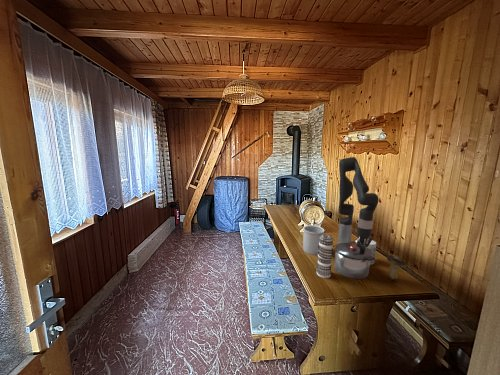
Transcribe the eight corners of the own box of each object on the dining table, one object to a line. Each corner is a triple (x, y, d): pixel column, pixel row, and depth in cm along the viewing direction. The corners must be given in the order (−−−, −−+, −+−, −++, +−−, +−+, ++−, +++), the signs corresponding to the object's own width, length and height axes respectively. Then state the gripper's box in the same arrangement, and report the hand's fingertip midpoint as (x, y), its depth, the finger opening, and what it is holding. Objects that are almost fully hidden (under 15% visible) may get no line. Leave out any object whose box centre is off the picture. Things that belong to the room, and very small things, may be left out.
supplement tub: (375, 266, 143) (378, 245, 140) (359, 263, 146) (362, 243, 143) (372, 259, 152) (374, 239, 149) (357, 257, 155) (359, 237, 152)
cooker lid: (351, 242, 150) (351, 237, 150) (383, 256, 129) (384, 251, 128) (327, 247, 142) (328, 242, 141) (358, 264, 120) (359, 258, 120)
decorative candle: (319, 268, 140) (321, 231, 135) (333, 273, 134) (337, 235, 129) (313, 274, 133) (316, 236, 128) (328, 280, 127) (331, 240, 122)
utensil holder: (323, 256, 155) (325, 233, 151) (302, 254, 158) (303, 231, 154) (321, 247, 169) (323, 226, 166) (301, 245, 172) (303, 224, 168)
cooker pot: (348, 258, 152) (350, 242, 150) (375, 274, 134) (378, 256, 132) (326, 264, 144) (328, 247, 142) (352, 282, 126) (354, 263, 123)
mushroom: (380, 275, 133) (383, 252, 130) (393, 275, 133) (397, 252, 130) (391, 285, 123) (395, 261, 120) (406, 284, 124) (410, 260, 121)
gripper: (367, 223, 133) (364, 249, 136) (351, 225, 128) (348, 253, 131) (378, 227, 127) (375, 254, 130) (362, 230, 121) (359, 258, 124)
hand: (361, 253), depth 130 cm, fingers closed
